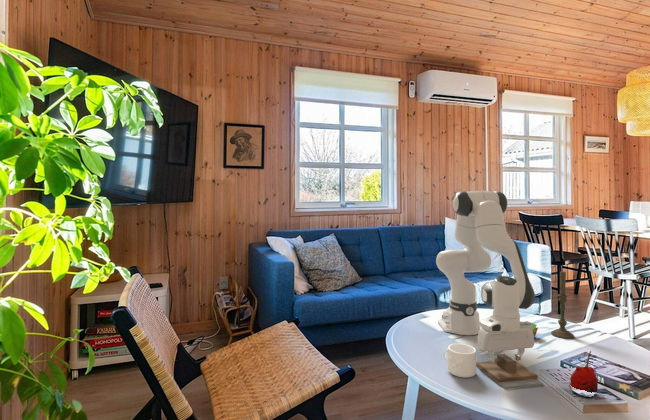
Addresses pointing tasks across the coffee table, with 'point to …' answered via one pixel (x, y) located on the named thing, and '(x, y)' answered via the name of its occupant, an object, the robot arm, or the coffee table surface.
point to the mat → (516, 382)
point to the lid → (506, 369)
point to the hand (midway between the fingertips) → (506, 360)
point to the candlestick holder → (562, 311)
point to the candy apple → (585, 378)
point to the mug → (461, 360)
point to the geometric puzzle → (534, 329)
